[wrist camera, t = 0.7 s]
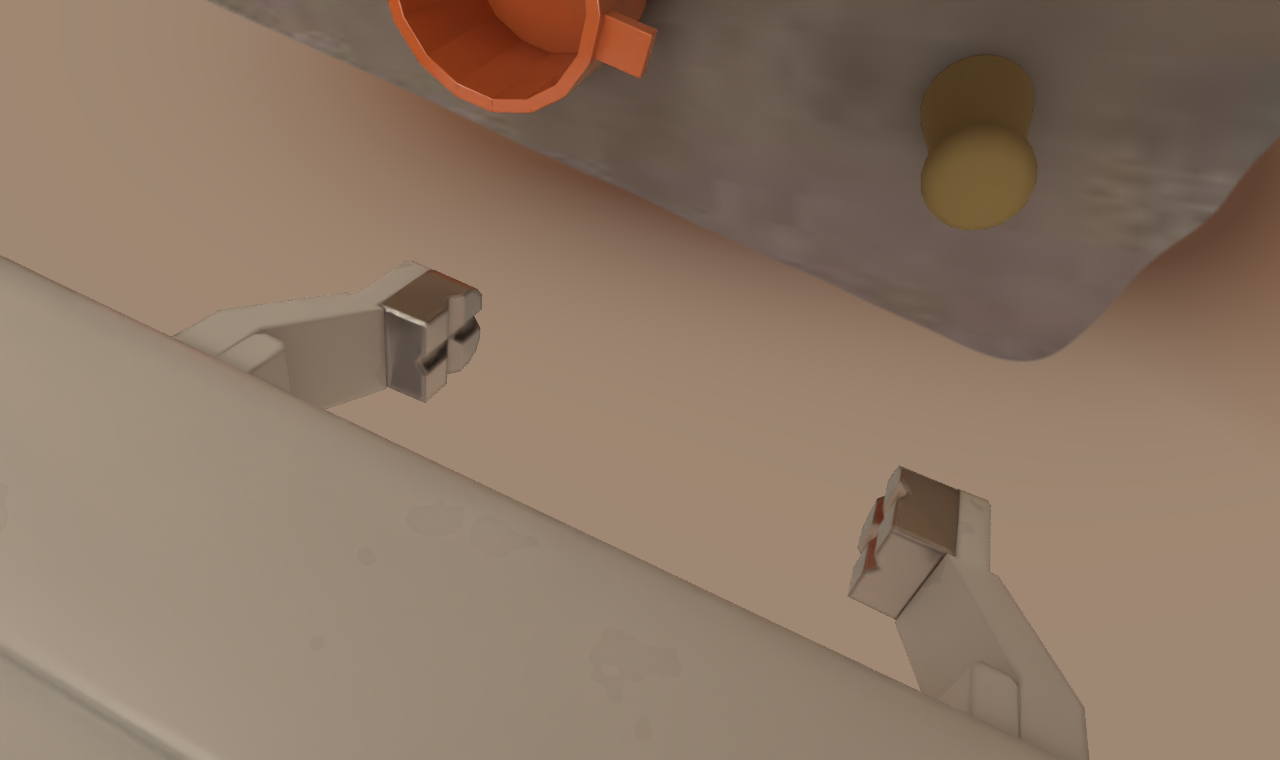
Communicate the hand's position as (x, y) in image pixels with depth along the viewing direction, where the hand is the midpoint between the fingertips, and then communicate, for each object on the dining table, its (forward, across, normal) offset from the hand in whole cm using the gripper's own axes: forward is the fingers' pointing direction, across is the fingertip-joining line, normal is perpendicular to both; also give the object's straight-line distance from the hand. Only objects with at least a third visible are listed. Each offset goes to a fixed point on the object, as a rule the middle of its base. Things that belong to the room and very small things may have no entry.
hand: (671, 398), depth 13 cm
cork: (+38, -6, +2) cm, 38 cm away
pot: (+35, +21, +1) cm, 41 cm away
